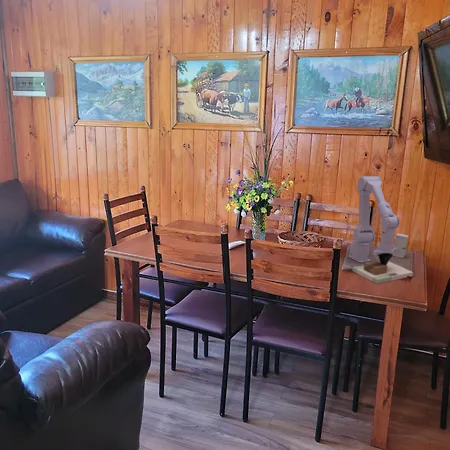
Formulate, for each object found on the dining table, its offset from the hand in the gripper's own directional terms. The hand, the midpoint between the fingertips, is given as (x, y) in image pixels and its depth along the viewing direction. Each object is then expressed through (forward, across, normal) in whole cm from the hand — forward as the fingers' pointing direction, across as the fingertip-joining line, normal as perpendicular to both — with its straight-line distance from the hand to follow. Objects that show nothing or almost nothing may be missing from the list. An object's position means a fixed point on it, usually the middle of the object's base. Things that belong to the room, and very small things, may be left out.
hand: (382, 267), depth 213 cm
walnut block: (+1, -5, 0) cm, 5 cm away
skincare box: (+4, +28, +14) cm, 32 cm away
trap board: (+3, 0, 0) cm, 3 cm away
